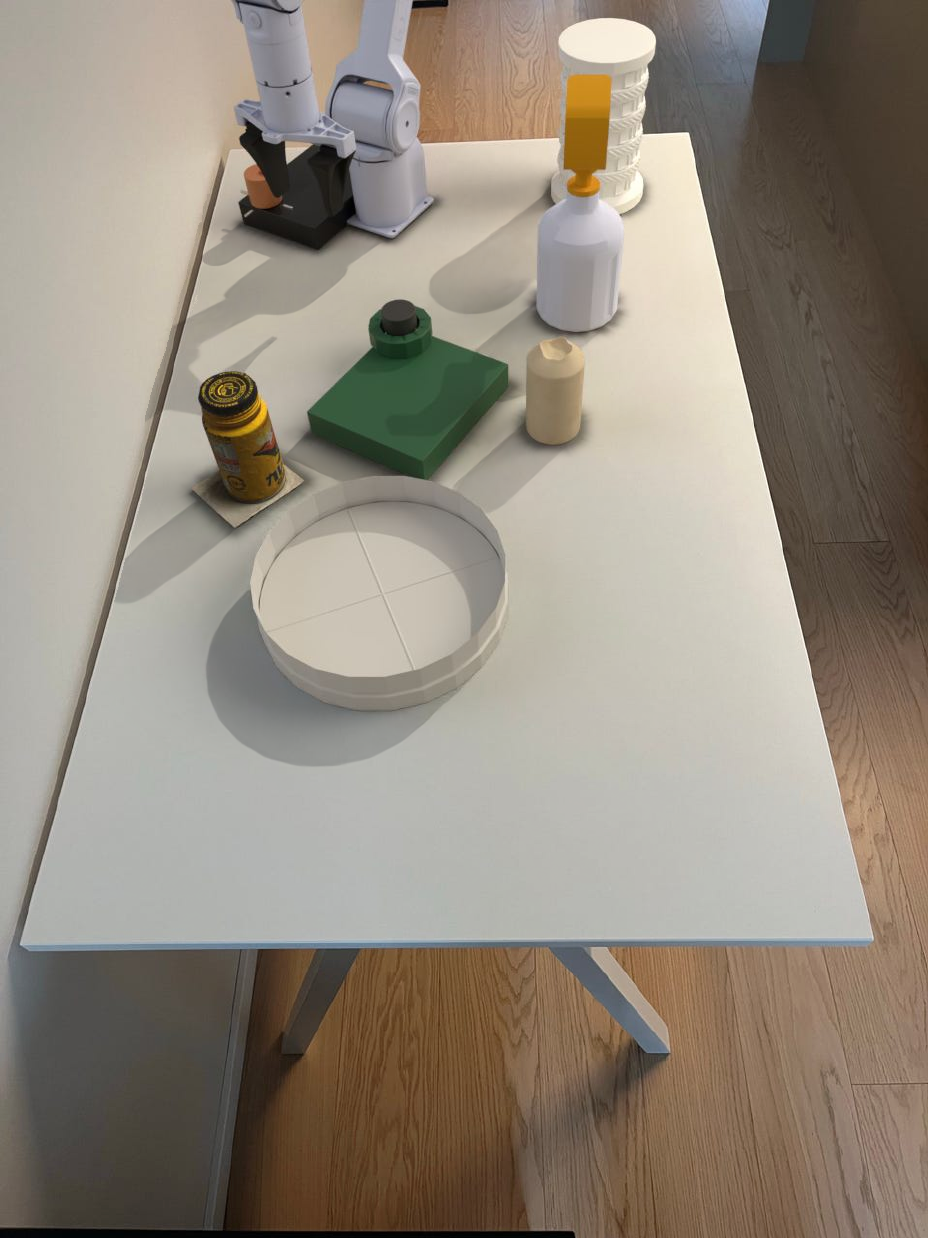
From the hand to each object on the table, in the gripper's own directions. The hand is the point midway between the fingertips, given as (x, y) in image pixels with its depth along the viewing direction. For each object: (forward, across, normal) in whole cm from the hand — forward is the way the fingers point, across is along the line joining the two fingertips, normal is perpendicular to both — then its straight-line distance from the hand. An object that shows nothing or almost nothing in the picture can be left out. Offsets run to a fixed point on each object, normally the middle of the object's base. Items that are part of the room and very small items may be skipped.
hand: (308, 202), depth 105 cm
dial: (+6, -13, +6) cm, 15 cm away
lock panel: (+9, -10, +11) cm, 18 cm away
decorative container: (+10, +20, +31) cm, 38 cm away
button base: (+10, +22, -14) cm, 28 cm away
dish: (+10, +35, -36) cm, 51 cm away
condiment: (+10, +15, -31) cm, 35 cm away
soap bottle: (+10, +29, +9) cm, 32 cm away
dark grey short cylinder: (+5, +17, -8) cm, 20 cm away
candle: (+10, +36, -8) cm, 39 cm away
